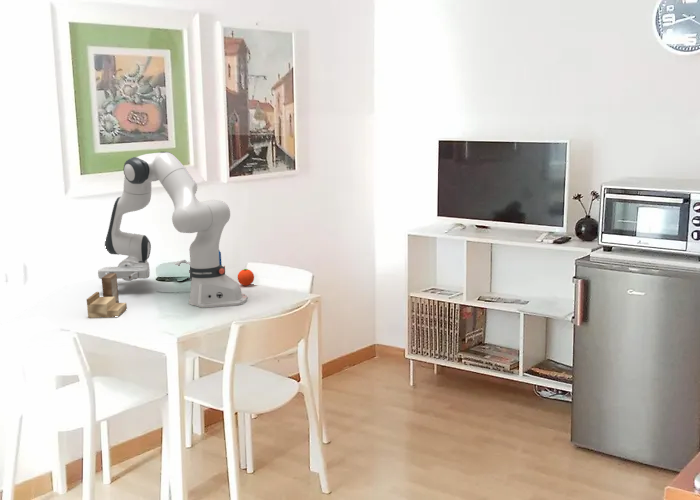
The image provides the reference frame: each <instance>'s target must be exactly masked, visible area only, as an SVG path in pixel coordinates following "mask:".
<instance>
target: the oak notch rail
mask: <svg viewBox="0 0 700 500" xmlns="http://www.w3.org/2000/svg"><path fill="white" fill-rule="evenodd" d="M86 307H87V318H89V319H91V318H92V319H95V318H96V319H97V318H99V319H101V318H100V317H103V318H116V317H115V316H119V315H120V314H121V313H122V314H123V313H125V311H126V309H127V310H128V306H127V302H119V303H116V299H115V297H103V296H100V291H96V292H94V293H93V294H92V295H90V296H89V297H88V298H86ZM122 314H121V315H122ZM121 315H120V316H121ZM120 316H119V317H120Z"/></svg>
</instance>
